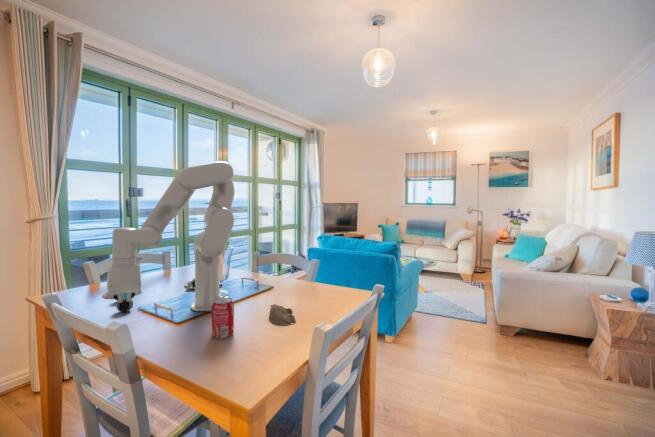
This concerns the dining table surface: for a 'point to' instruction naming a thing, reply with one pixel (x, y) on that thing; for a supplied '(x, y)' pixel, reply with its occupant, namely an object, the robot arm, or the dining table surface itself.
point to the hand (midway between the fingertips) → (124, 311)
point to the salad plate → (191, 285)
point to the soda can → (222, 317)
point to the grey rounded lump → (129, 305)
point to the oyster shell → (281, 315)
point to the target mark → (105, 296)
